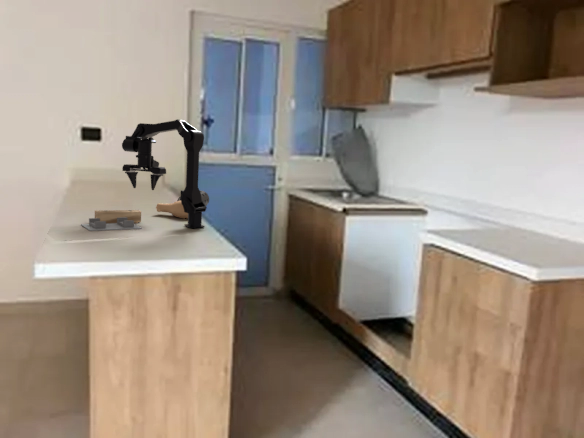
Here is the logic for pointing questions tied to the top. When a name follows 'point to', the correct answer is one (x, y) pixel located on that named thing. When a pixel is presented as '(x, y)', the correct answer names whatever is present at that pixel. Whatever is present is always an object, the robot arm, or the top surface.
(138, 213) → the oak rail
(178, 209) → the squash
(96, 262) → the top surface
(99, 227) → the mount board
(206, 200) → the muzzle brake
